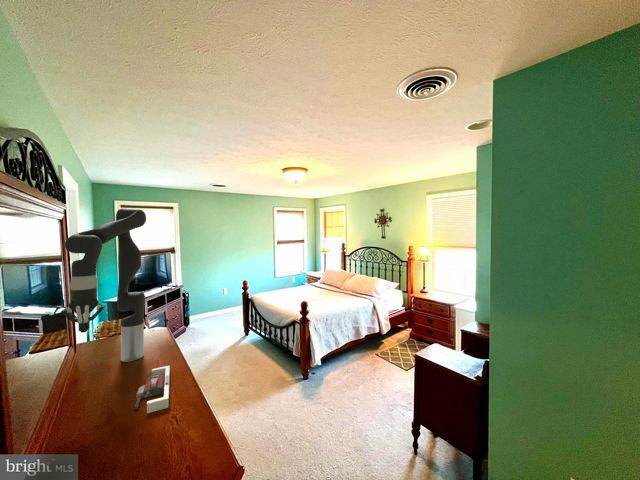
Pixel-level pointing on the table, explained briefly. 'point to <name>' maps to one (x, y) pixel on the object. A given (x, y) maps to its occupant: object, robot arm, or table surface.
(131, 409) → the table surface
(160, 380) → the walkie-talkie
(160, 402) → the white c-shaped bracket
